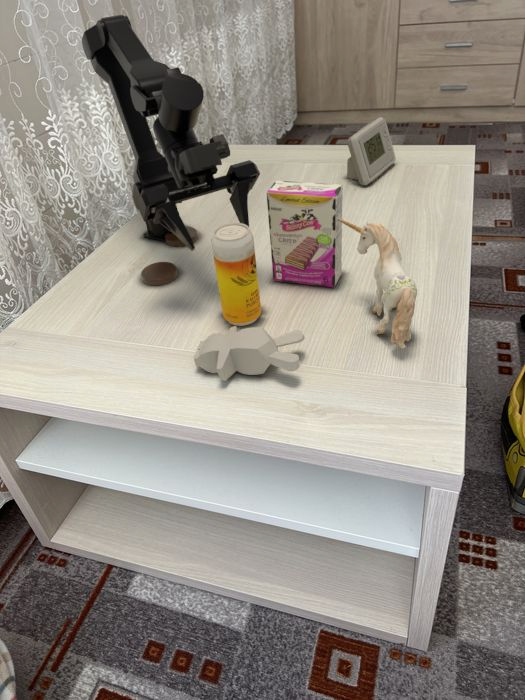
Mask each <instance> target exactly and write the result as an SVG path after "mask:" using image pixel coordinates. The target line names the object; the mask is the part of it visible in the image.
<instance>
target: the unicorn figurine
mask: <svg viewBox="0 0 525 700" xmlns="http://www.w3.org/2000/svg"><path fill="white" fill-rule="evenodd" d="M336 219H337V220H338V221H340V222H342V225H345V226H347V227H348V228H350V229H352V230H353V231H356V232H357V233H359V241H358V245H357V248H356V250H357V252H358V253H359V255H366V254H367V253H368V249H369V248H370V247H371V246H373V245H375V244H376V245H377V247H378V251H379V258H378V260H377V262H376V265H375V267H374V272H373V274H374V279H375V284H376V288H377V289H376V293H375V295H376V303H375V305H374V306H373V307H372V310H371V311H372V313H373V314H377V316H379V317H381V315H382V313H383V318H382V319H380V320H379V322H378V326H377V328H376V334H377V335H379V334H381V335H382V334H383V335H384V334H386V329H387V326H388V325H387V324H388V323H390V321H391V313H392V311H393V309H396V312H395V316H394V317H393V319H392V325H391V338H390V342H391V345H394V344H395V343H396V345H397V346H399V347H400V349H406V345H405V342H409V341H410V340H411V339H412V334H411V325H412V321H413V320H412V319H413V317H414V314H415V307H416V300H417V296H418V287H417V284H416V282H415V281H414V279H413V278H412V277H410V276H409V275H408V272H407V271H406V270H405V268H404V267H403V265H402V262H401V261H402V259H403V257H402V254H401V252H400V247H399V244H398V241H397V239H396V238H395V237H394V236H393V234H391V232H390V231H389V229H387V228H386V226H385V225H383V224H381V223H374V222H370V221H369V220H367V221H366V224H362V226H363V227H360V226H357V225H355V224H353V223H350V222H349V221H347V220H345V219H343V218H342V219H340V218H336ZM382 299H383V301H382Z"/></svg>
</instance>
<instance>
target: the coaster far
mask: <svg viewBox="0 0 525 700" xmlns="http://www.w3.org/2000/svg"><path fill="white" fill-rule="evenodd" d="M185 227H186V229H187V231H188V233H189V234H190V236H191V238H192V241H193V243H195V242H196V241H197V240H198V237H199V236H198V230H197V229H196V228H195V227H192V226H187V225H185ZM165 239H166V241H165V242H166V244H167V245H168V246H170V247H176V248H177V247H178V248H179V247H185V246H186V245H185V244H184V243H183V242H182V241H181V240H180V239H179V238H178V237H177V236H176V235H175V234H174V233H171V234H170V233H166V234H165ZM186 247H187V246H186Z"/></svg>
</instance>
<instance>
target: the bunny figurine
mask: <svg viewBox="0 0 525 700" xmlns="http://www.w3.org/2000/svg"><path fill="white" fill-rule="evenodd" d="M272 337H273V336H271V335H270V334H269V333H268V331H266V330H265V328H264V327H258V326H257V327H256V326H254V327H245V328H241V329H240V330H238V326H236V325H233V326H231V327H229V330H228V331H227V332H226V334H224V335H223V334H221V333H219V332H215V333H211V334H210V335H208V336H207V337H206V338H205V340H204V341H203V340H201V341H200V342H199V343H198V346H197V351H195V354H194V356H193V358H192V359H193V362H194V364H195V367H196V368H201V369H203V370H204V371H206V372H207V373H211V374H212V375H213V374H217V375H218V378H219V381H227V380H228V379H229V378H230V377H231V376H233V375H234V374H235V373H236V372H238V373H240V374H242V375H248V376H255V375H256V376H257V375H263V374H264V373H265V372H266V371H267V370H268V368H269V367H270V366H271V365H272V366H274V367H277V368H279V369H282V370H284V371H287V372H292V373H293V372H295V371H298V369H299V368H300V367H301V365H300V363H301V362H300V356H299V355H298V354H296V353H291V352H286V351H279V348H280V347H284V346H289V345H294V344H298V343H302V342H303V341H304V340H305V334H304V332H303V331H302V330H299V329H297V330H293V331H290V332H288V333H284V334H282V335H279V336H276V337H274V338H272Z"/></svg>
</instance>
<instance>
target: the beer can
mask: <svg viewBox="0 0 525 700" xmlns="http://www.w3.org/2000/svg"><path fill="white" fill-rule="evenodd" d="M210 242H211V248H212V254H213V262H214V268H215V273H216V279H217V286H218V292H219V299H220V305H221V312H222V317H223V319H225V321H227V322H228V323H229V324H231V325H233V326H236V327H238V326H239V327H244V326H248V325H251V324H253V323H254V322H256V321H257V320H258V319H259V317H260V315H261V313H262V305H261V295H260V286H259V277H258V268H257V260H256V249H255V240H254V234H253V232H252V231H251V229H250V226H249V227H248V226H247V225H245V224H242V223H240V222H227V223H223V224H221V225H219V226H217V227H216V228H214V229H213V231H212V236H211V240H210Z"/></svg>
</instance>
